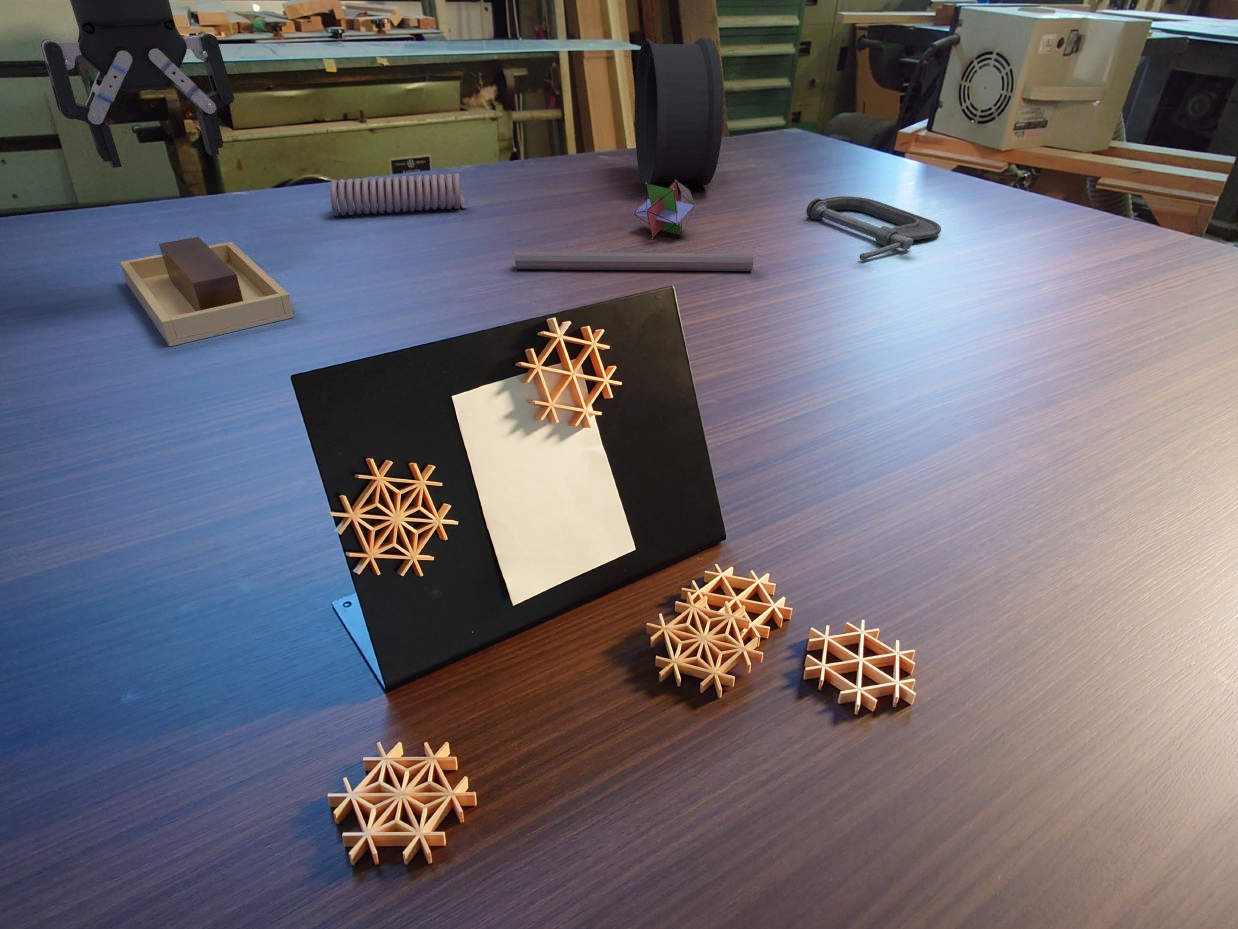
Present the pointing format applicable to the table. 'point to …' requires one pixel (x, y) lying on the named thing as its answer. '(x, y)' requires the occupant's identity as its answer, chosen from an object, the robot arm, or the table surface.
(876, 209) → the c clamp
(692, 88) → the wheel rim
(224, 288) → the block
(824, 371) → the table surface
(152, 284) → the tray
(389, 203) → the coil
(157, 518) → the table surface
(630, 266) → the metal rod
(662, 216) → the geometric puzzle
